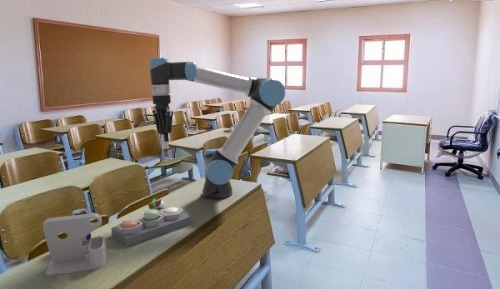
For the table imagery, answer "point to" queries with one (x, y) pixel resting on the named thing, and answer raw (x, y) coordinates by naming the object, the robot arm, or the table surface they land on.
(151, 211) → the sage button
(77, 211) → the energy drink
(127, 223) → the terracotta button
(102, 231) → the table surface
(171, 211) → the cream button
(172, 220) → the button board
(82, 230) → the phone holder
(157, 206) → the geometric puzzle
